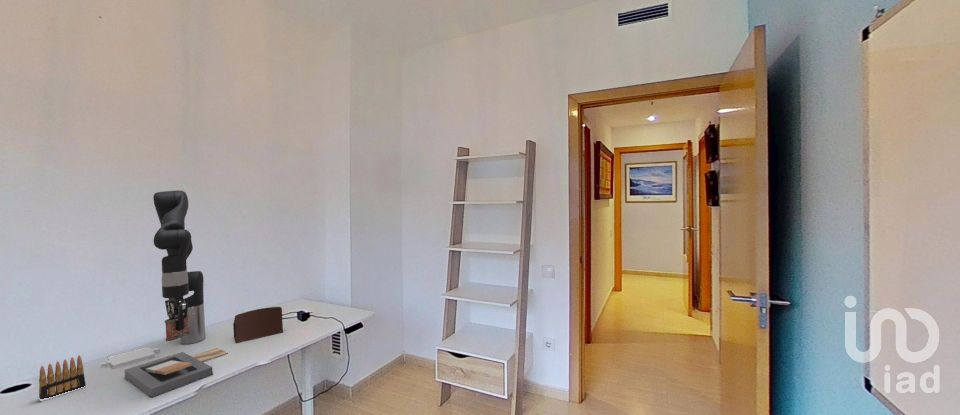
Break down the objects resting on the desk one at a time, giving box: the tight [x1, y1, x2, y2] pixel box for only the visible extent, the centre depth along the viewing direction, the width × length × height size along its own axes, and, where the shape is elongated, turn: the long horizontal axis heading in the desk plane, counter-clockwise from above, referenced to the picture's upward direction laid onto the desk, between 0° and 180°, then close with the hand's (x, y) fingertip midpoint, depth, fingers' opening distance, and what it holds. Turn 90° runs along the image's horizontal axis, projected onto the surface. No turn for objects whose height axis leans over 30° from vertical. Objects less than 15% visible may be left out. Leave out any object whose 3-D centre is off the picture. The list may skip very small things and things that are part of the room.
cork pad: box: [190, 347, 228, 363], centre depth 155 cm, size 10×10×1 cm
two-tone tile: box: [146, 360, 192, 375], centre depth 138 cm, size 20×8×1 cm, turn 58°
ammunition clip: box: [38, 355, 87, 399], centre depth 127 cm, size 11×2×12 cm, turn 153°
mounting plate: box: [100, 346, 161, 370], centre depth 154 cm, size 18×13×2 cm
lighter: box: [164, 311, 190, 342], centre depth 135 cm, size 8×3×10 cm, turn 169°
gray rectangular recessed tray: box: [123, 351, 214, 398], centre depth 138 cm, size 28×18×3 cm, turn 58°
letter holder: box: [233, 306, 284, 344], centre depth 178 cm, size 10×20×14 cm, turn 129°
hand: (177, 328), depth 135 cm, fingers closed on lighter, 4 cm apart
